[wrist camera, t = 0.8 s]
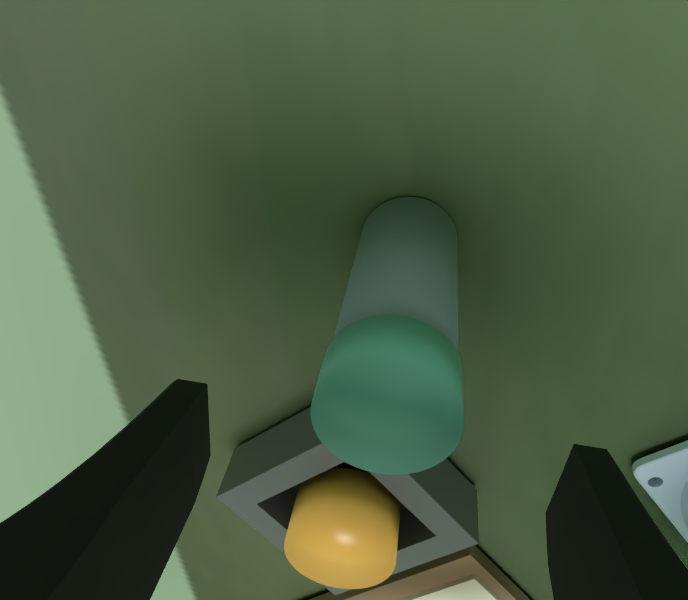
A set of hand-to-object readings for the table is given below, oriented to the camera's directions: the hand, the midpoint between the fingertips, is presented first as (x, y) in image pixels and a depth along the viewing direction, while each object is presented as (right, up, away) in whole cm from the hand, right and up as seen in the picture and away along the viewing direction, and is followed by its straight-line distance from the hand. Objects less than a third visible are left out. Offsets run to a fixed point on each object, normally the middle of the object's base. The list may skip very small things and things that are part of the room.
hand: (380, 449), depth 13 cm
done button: (-1, -5, +12) cm, 13 cm away
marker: (+1, +5, +7) cm, 9 cm away
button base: (0, -4, +13) cm, 14 cm away
